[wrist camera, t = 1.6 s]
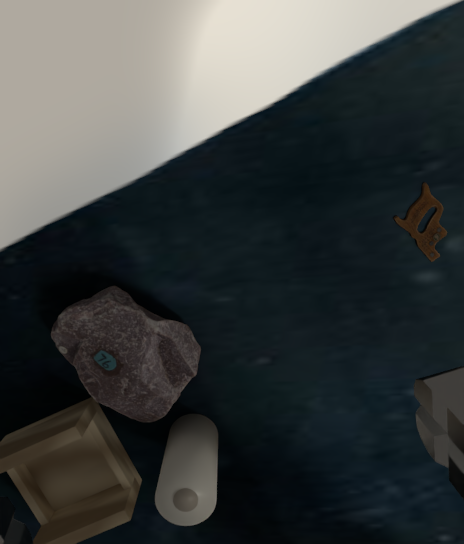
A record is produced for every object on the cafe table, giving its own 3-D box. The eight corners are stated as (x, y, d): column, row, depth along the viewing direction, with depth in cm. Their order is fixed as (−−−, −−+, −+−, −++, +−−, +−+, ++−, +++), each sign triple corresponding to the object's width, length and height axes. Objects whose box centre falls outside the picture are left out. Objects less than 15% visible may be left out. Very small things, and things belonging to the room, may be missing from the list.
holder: (142, 479, 45) (130, 520, 39) (57, 516, 45) (34, 560, 40) (94, 395, 43) (75, 426, 37) (6, 435, 43) (-25, 470, 38)
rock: (99, 260, 40) (80, 272, 35) (213, 336, 42) (211, 359, 37) (48, 337, 42) (23, 360, 37) (160, 408, 43) (151, 439, 38)
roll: (226, 446, 44) (226, 513, 35) (182, 465, 44) (171, 536, 35) (205, 405, 43) (200, 464, 34) (160, 425, 43) (143, 488, 34)
